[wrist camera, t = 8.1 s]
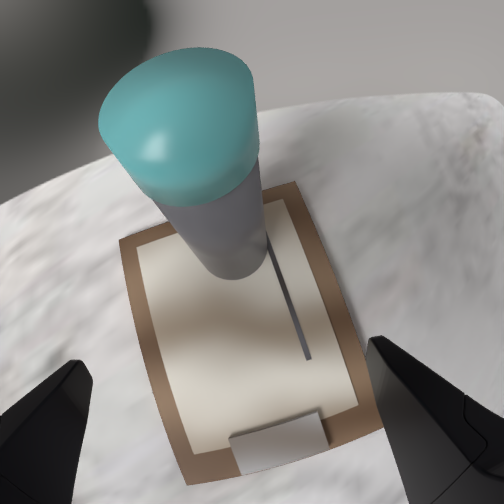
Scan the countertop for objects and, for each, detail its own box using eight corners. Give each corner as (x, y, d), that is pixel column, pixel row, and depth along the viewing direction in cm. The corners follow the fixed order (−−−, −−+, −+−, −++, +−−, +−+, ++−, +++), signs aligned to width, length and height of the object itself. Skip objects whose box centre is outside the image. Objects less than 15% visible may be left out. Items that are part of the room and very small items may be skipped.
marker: (283, 250, 18) (289, 91, 7) (226, 296, 18) (137, 191, 6) (236, 198, 19) (193, 31, 8) (182, 239, 19) (78, 101, 8)
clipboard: (383, 423, 15) (389, 427, 14) (189, 481, 15) (184, 488, 14) (294, 185, 20) (295, 176, 19) (122, 243, 20) (115, 237, 19)
